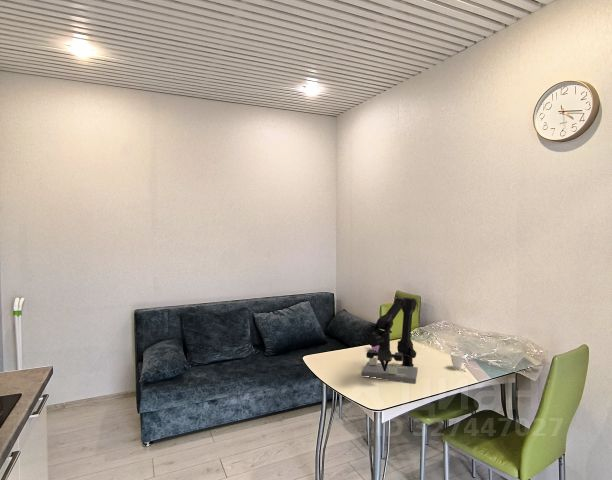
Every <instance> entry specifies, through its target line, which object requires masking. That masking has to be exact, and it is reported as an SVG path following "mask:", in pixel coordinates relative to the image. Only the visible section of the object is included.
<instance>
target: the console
mask: <svg viewBox="0 0 612 480" xmlns="http://www.w3.org/2000/svg"><path fill="white" fill-rule="evenodd" d="M396 365H397V364H396ZM388 366H389V363H388V365H387V368H386V371H384V370H383V367H382V364H381V362H379V363H378V362H377V365H370V364H369V361H366V364H365V366H364V367H363V369H362V372H361V377H362V376H369V377H376V378H382V379H381V380H383V379H388V380H387V381H391V380H395V381H394V382H399V381H403V382H402V383H408V382H413V383H412V384H416V383H417V378H418V368H419V367H416V366H413V367H409V366H402V365H397V373H396V374H388Z"/></svg>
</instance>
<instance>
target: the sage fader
mask: <svg viewBox="0 0 612 480" xmlns="http://www.w3.org/2000/svg"><path fill="white" fill-rule="evenodd" d="M388 364H389V363H388ZM396 373H397V364H391V363H390V364H389V366H388V374H396Z"/></svg>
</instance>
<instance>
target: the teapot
mask: <svg viewBox="0 0 612 480" xmlns="http://www.w3.org/2000/svg"><path fill="white" fill-rule="evenodd" d="M370 346H371V345H370ZM378 349H379V345H378V346H375V347H372V346H371V350H375V351H376V352H377V353H378Z"/></svg>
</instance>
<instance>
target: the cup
mask: <svg viewBox="0 0 612 480" xmlns="http://www.w3.org/2000/svg"><path fill="white" fill-rule="evenodd" d="M464 356H465V355H464V353H462V352H460V351H459V352H458V351H453V352H451V353H450V358H451V359H450V361H451V364H452V368H453V369H455V370H458V371H459V370H461V371H462V370H464V369H467V368H468V367H469V361H468V359H467V358H466V357H464ZM463 360H465V361H466V367H464V368H462V366H463V362H464V361H463Z"/></svg>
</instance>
